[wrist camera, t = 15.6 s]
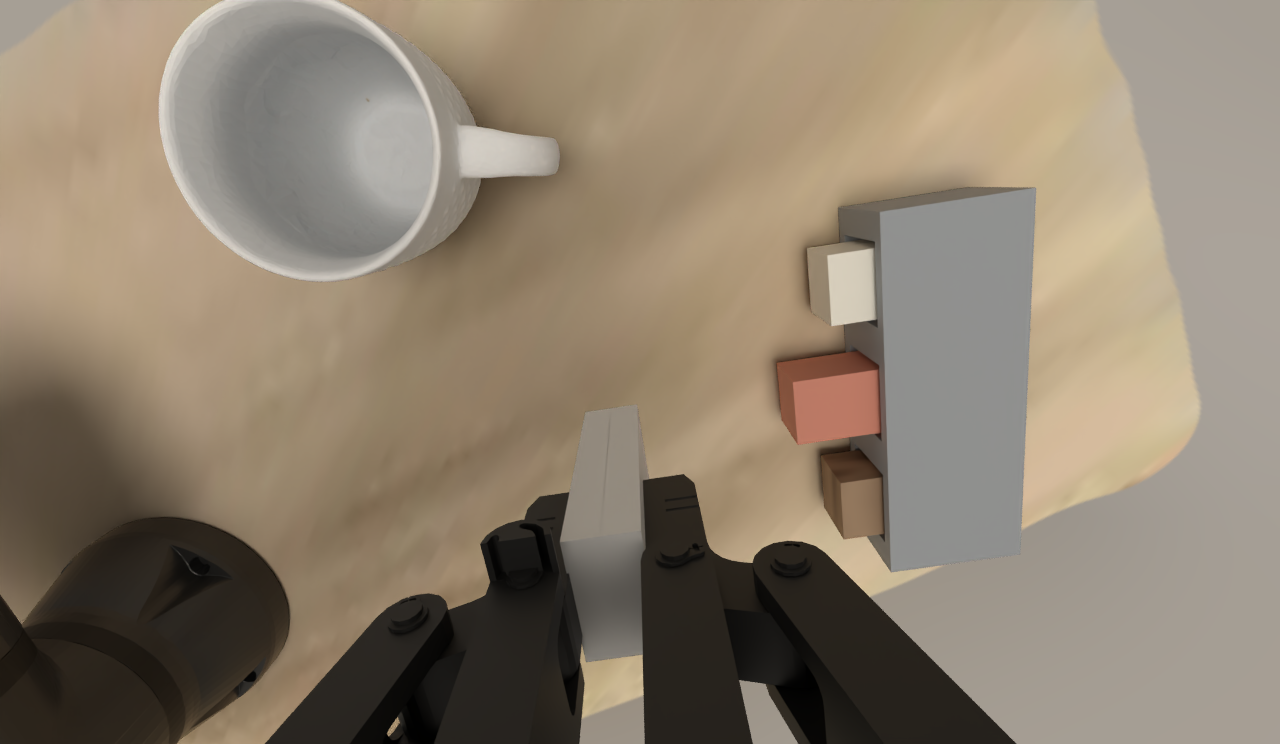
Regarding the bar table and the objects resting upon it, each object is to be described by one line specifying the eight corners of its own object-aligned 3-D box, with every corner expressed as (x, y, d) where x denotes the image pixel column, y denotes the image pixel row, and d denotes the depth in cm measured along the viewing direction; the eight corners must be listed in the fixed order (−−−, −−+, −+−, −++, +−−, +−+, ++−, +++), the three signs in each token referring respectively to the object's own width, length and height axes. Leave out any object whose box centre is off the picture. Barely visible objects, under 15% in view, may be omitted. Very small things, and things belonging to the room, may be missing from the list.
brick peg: (781, 419, 40) (797, 444, 36) (776, 362, 39) (792, 382, 35) (917, 400, 40) (948, 423, 36) (916, 342, 38) (948, 359, 35)
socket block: (854, 517, 44) (891, 572, 37) (838, 207, 37) (879, 211, 31) (964, 501, 43) (1020, 554, 37) (968, 187, 37) (1036, 187, 31)
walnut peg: (824, 507, 42) (843, 539, 38) (820, 455, 41) (840, 483, 37) (953, 488, 42) (986, 519, 38) (954, 436, 40) (987, 462, 37)
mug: (569, 59, 35) (535, -12, 22) (573, 253, 38) (545, 287, 25) (307, 54, 34) (122, -21, 22) (333, 250, 37) (186, 283, 25)
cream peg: (811, 311, 38) (831, 326, 34) (806, 248, 37) (827, 255, 33) (954, 290, 38) (991, 302, 34) (955, 225, 36) (993, 230, 33)
